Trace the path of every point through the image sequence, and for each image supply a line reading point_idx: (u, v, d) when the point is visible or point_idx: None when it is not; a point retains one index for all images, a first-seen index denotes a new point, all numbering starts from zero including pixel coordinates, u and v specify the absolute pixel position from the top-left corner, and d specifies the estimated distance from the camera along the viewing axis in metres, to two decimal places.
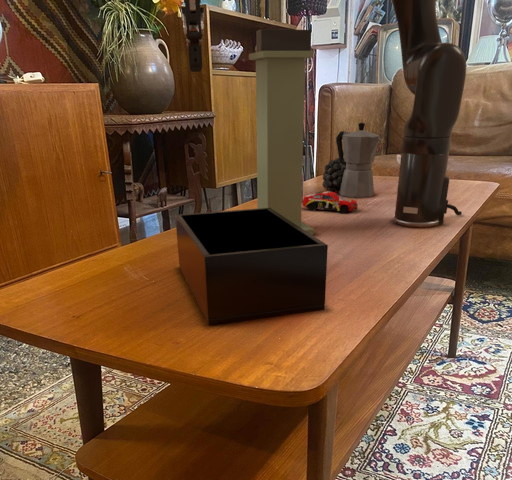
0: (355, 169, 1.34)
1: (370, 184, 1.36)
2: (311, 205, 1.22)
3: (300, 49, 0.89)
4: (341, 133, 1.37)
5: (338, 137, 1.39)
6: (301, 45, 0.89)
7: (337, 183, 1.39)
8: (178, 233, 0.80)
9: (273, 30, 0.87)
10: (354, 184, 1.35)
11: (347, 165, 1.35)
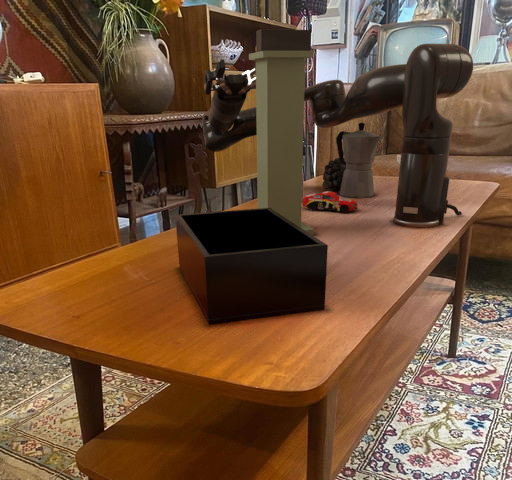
0: (355, 169, 1.34)
1: (370, 184, 1.36)
2: (311, 205, 1.22)
3: (300, 49, 0.89)
4: (341, 133, 1.37)
5: (338, 137, 1.39)
6: (301, 45, 0.89)
7: (337, 183, 1.39)
8: (178, 233, 0.80)
9: (273, 30, 0.87)
10: (354, 184, 1.35)
11: (347, 165, 1.35)
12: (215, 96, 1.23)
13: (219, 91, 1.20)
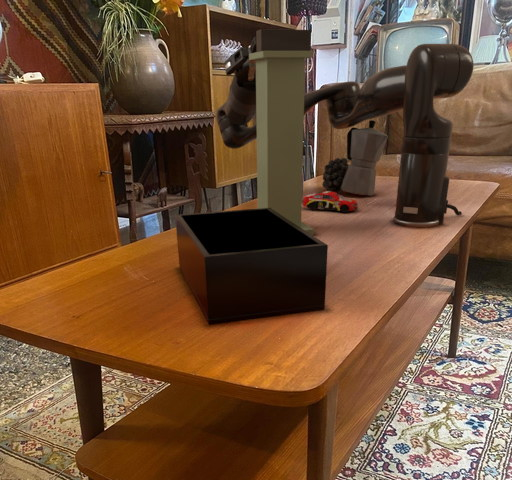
0: (358, 165, 1.34)
1: (371, 183, 1.36)
2: (311, 205, 1.23)
3: (300, 49, 0.89)
4: (352, 129, 1.38)
5: (349, 133, 1.39)
6: (301, 45, 0.89)
7: (337, 183, 1.39)
8: (178, 233, 0.80)
9: (273, 30, 0.87)
10: (355, 179, 1.35)
11: (352, 160, 1.36)
12: (234, 83, 1.09)
13: (238, 77, 1.06)
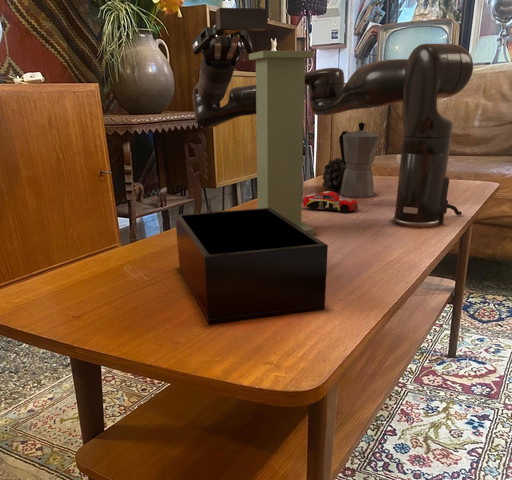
0: (354, 169, 1.34)
1: (369, 185, 1.36)
2: (311, 205, 1.23)
3: (257, 27, 0.95)
4: (343, 133, 1.38)
5: (341, 137, 1.39)
6: (259, 23, 0.95)
7: (337, 183, 1.39)
8: (178, 233, 0.80)
9: (231, 8, 0.93)
10: (352, 183, 1.35)
11: (346, 165, 1.36)
12: (203, 62, 1.15)
13: (206, 56, 1.12)
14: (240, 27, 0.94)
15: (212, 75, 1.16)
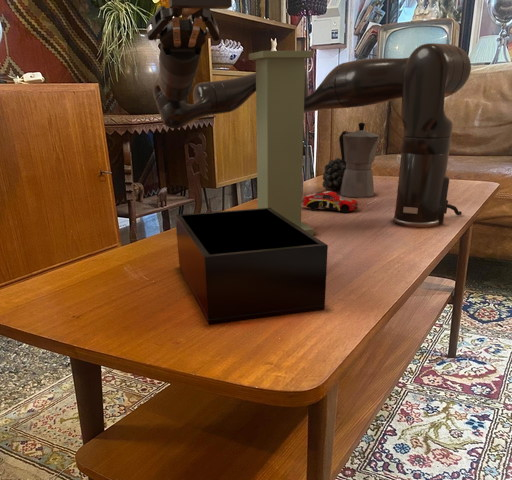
0: (354, 169, 1.34)
1: (369, 185, 1.36)
2: (312, 205, 1.23)
3: (219, 4, 0.77)
4: (343, 133, 1.38)
5: (341, 137, 1.39)
6: None
7: (337, 183, 1.39)
8: (178, 233, 0.80)
9: None
10: (352, 183, 1.35)
11: (346, 165, 1.36)
12: (161, 50, 0.97)
13: (163, 42, 0.93)
14: (197, 4, 0.76)
15: (172, 66, 0.97)
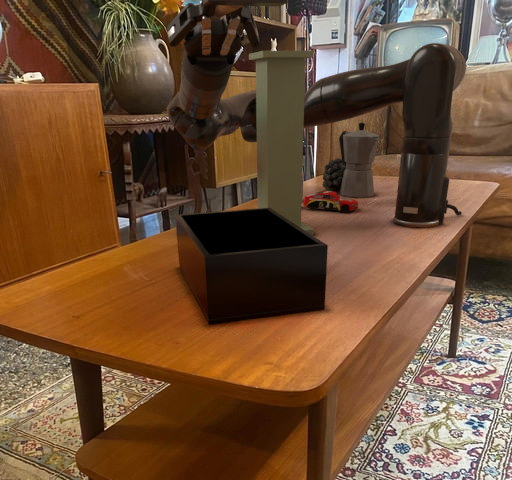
0: (354, 169, 1.34)
1: (369, 185, 1.36)
2: (312, 205, 1.23)
3: (271, 0, 0.57)
4: (343, 133, 1.38)
5: (341, 137, 1.39)
6: None
7: (337, 183, 1.39)
8: (178, 233, 0.80)
9: None
10: (352, 183, 1.35)
11: (346, 165, 1.36)
12: (184, 59, 0.77)
13: (189, 49, 0.73)
14: (242, 0, 0.56)
15: (199, 78, 0.77)
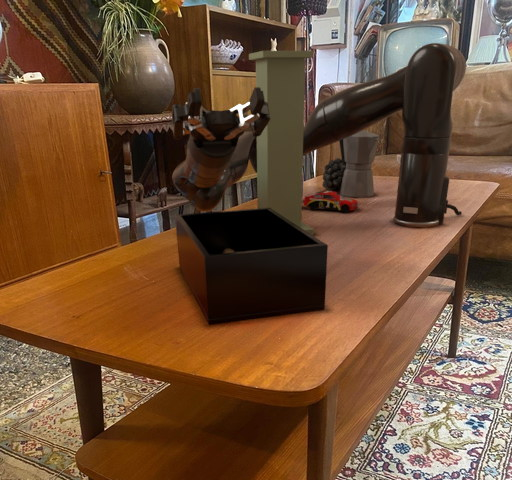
0: (354, 169, 1.34)
1: (369, 185, 1.36)
2: (312, 205, 1.23)
3: None
4: None
5: None
6: None
7: (337, 183, 1.39)
8: (178, 233, 0.80)
9: None
10: (352, 183, 1.35)
11: (346, 165, 1.36)
12: (191, 141, 0.82)
13: (195, 136, 0.78)
14: None
15: (204, 159, 0.82)
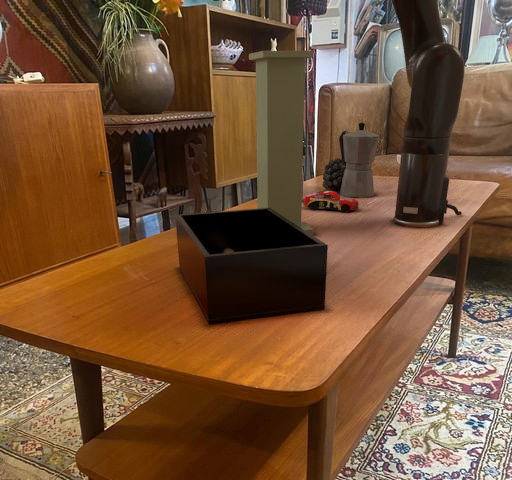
0: (354, 169, 1.34)
1: (369, 185, 1.36)
2: (312, 204, 1.23)
3: None
4: (343, 133, 1.38)
5: (341, 137, 1.39)
6: None
7: (337, 183, 1.39)
8: (178, 233, 0.80)
9: None
10: (352, 183, 1.35)
11: (346, 165, 1.36)
12: None
13: None
14: None
15: None
